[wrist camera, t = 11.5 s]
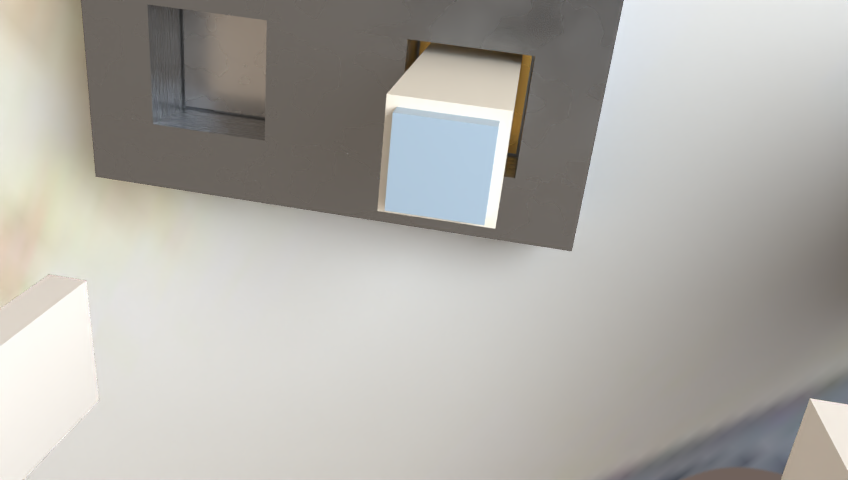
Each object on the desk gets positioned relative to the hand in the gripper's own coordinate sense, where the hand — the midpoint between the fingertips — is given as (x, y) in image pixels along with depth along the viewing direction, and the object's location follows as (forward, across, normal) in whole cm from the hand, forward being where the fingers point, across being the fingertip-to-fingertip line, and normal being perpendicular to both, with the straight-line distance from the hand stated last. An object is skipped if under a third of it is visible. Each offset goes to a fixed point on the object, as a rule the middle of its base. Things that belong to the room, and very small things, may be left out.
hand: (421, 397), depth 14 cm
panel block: (+26, +8, 0) cm, 27 cm away
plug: (+25, +2, 0) cm, 25 cm away
